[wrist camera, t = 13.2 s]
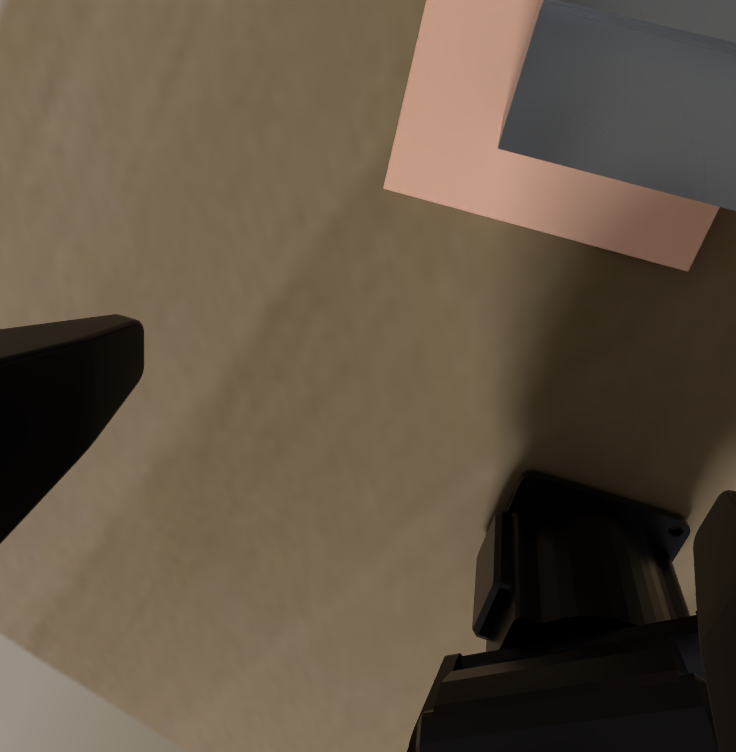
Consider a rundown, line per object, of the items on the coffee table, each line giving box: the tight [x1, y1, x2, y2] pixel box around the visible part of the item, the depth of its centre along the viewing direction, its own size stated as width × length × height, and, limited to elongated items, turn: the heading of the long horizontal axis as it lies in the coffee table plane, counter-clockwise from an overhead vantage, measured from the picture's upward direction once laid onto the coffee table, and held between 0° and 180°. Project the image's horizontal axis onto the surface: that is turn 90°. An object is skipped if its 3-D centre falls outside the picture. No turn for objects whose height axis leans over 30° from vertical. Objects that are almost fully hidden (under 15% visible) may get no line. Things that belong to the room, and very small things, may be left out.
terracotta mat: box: [383, 0, 720, 272], centre depth 17 cm, size 10×10×1 cm
